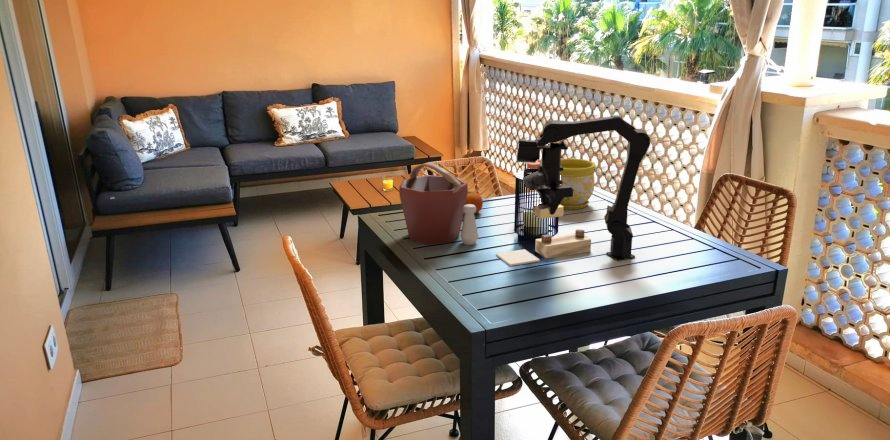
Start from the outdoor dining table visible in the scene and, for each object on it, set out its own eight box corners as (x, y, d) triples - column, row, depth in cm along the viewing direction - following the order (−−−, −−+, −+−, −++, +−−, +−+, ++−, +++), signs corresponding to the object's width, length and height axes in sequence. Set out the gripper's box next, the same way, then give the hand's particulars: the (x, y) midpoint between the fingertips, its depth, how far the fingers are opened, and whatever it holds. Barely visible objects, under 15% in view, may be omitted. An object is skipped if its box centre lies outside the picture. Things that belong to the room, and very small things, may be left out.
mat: (539, 261, 212) (539, 259, 212) (510, 266, 209) (510, 264, 208) (524, 250, 221) (524, 249, 221) (496, 255, 217) (496, 253, 217)
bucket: (476, 243, 229) (476, 169, 221) (413, 252, 221) (411, 176, 213) (449, 222, 250) (448, 154, 243) (390, 230, 243) (387, 160, 235)
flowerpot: (597, 211, 260) (599, 168, 256) (549, 211, 261) (550, 169, 256) (589, 198, 278) (591, 158, 273) (543, 198, 278) (545, 158, 273)
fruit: (468, 219, 254) (468, 198, 251) (449, 213, 261) (448, 192, 259) (488, 213, 261) (488, 192, 258) (469, 207, 268) (469, 187, 266)
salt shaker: (476, 246, 226) (476, 208, 222) (459, 245, 227) (459, 207, 223) (479, 240, 231) (479, 203, 227) (462, 239, 232) (462, 202, 228)
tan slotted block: (563, 216, 214) (563, 204, 213) (540, 218, 212) (540, 207, 211) (556, 212, 218) (557, 201, 217) (534, 215, 215) (534, 203, 214)
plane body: (590, 251, 220) (591, 233, 218) (545, 258, 214) (546, 239, 213) (578, 244, 226) (579, 226, 224) (535, 251, 221) (535, 233, 219)
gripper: (513, 158, 215) (512, 206, 220) (542, 172, 199) (539, 224, 204) (545, 156, 219) (543, 203, 224) (576, 169, 202) (572, 220, 207)
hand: (548, 212), depth 215 cm, fingers closed on tan slotted block, 4 cm apart
